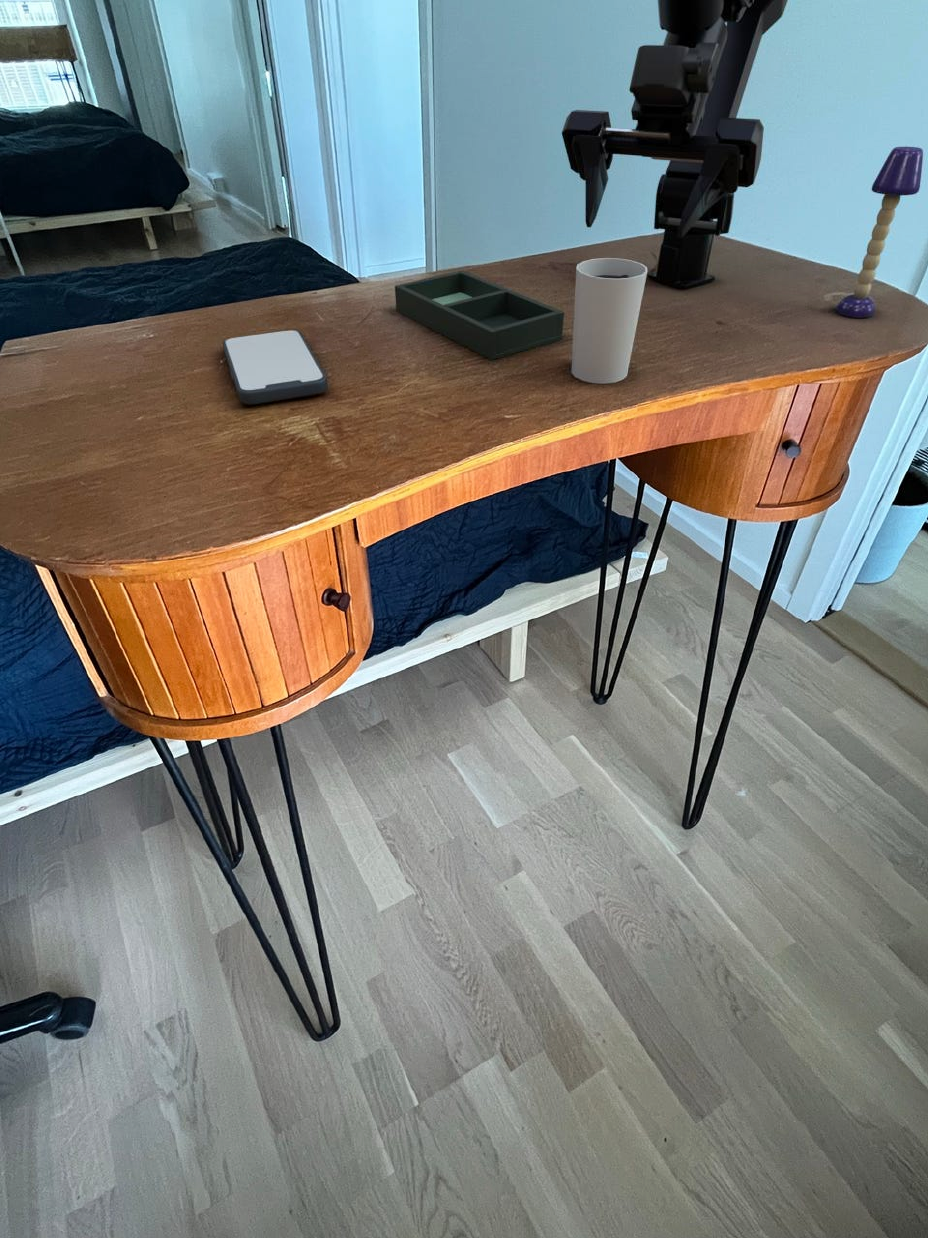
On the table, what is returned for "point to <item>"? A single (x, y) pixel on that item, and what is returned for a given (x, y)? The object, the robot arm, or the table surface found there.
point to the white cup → (606, 318)
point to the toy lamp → (884, 222)
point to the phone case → (273, 367)
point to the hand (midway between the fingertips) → (632, 229)
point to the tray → (479, 314)
